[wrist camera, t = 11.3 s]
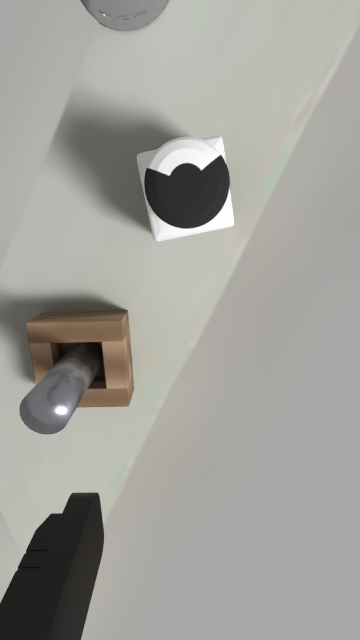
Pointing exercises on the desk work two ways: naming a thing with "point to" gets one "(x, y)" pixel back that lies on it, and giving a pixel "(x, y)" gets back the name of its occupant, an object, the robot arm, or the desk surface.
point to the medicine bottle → (186, 187)
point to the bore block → (101, 327)
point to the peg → (61, 389)
